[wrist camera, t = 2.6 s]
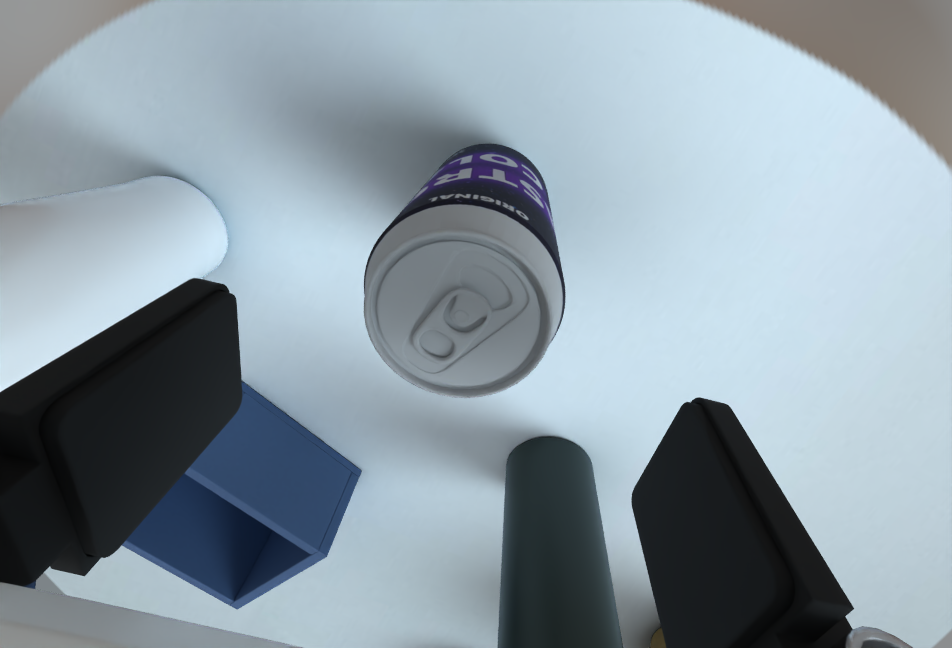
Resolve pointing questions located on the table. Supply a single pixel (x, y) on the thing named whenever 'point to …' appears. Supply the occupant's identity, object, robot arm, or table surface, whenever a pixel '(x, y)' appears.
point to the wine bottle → (554, 552)
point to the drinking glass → (96, 262)
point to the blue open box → (250, 507)
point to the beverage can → (468, 277)
